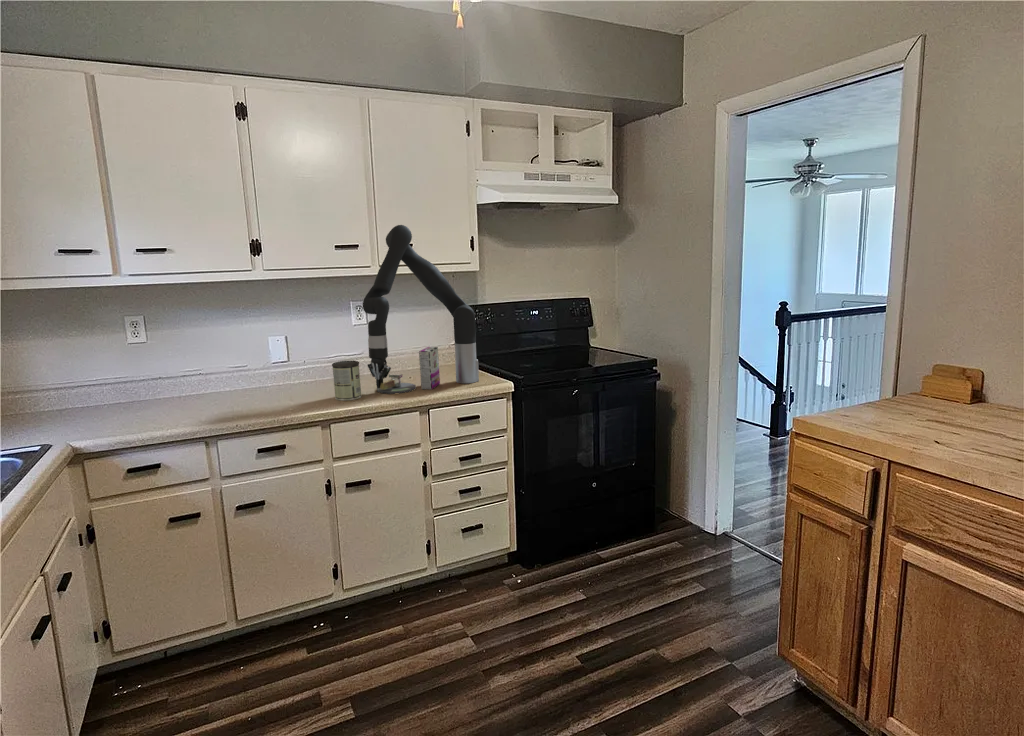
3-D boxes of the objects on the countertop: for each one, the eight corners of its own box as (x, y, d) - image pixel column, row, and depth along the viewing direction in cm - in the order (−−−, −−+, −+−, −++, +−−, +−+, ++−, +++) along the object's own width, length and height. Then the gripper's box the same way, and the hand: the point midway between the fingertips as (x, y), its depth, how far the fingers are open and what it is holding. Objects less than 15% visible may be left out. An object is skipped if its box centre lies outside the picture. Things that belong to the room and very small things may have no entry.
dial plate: (409, 383, 258) (409, 380, 257) (420, 390, 244) (420, 388, 243) (372, 387, 251) (372, 385, 250) (382, 395, 237) (382, 393, 236)
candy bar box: (429, 383, 257) (427, 346, 253) (440, 383, 256) (438, 346, 252) (420, 389, 246) (418, 350, 243) (431, 389, 245) (429, 351, 242)
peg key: (393, 385, 250) (393, 373, 249) (404, 385, 248) (403, 373, 247) (375, 391, 239) (375, 379, 238) (386, 392, 237) (385, 380, 235)
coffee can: (336, 395, 239) (333, 361, 236) (362, 393, 241) (360, 359, 238) (333, 401, 229) (330, 366, 226) (360, 400, 231) (357, 364, 228)
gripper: (360, 345, 240) (362, 387, 243) (380, 349, 231) (382, 392, 235) (375, 343, 245) (377, 384, 249) (395, 346, 237) (397, 388, 240)
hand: (380, 387), depth 242 cm, fingers closed
